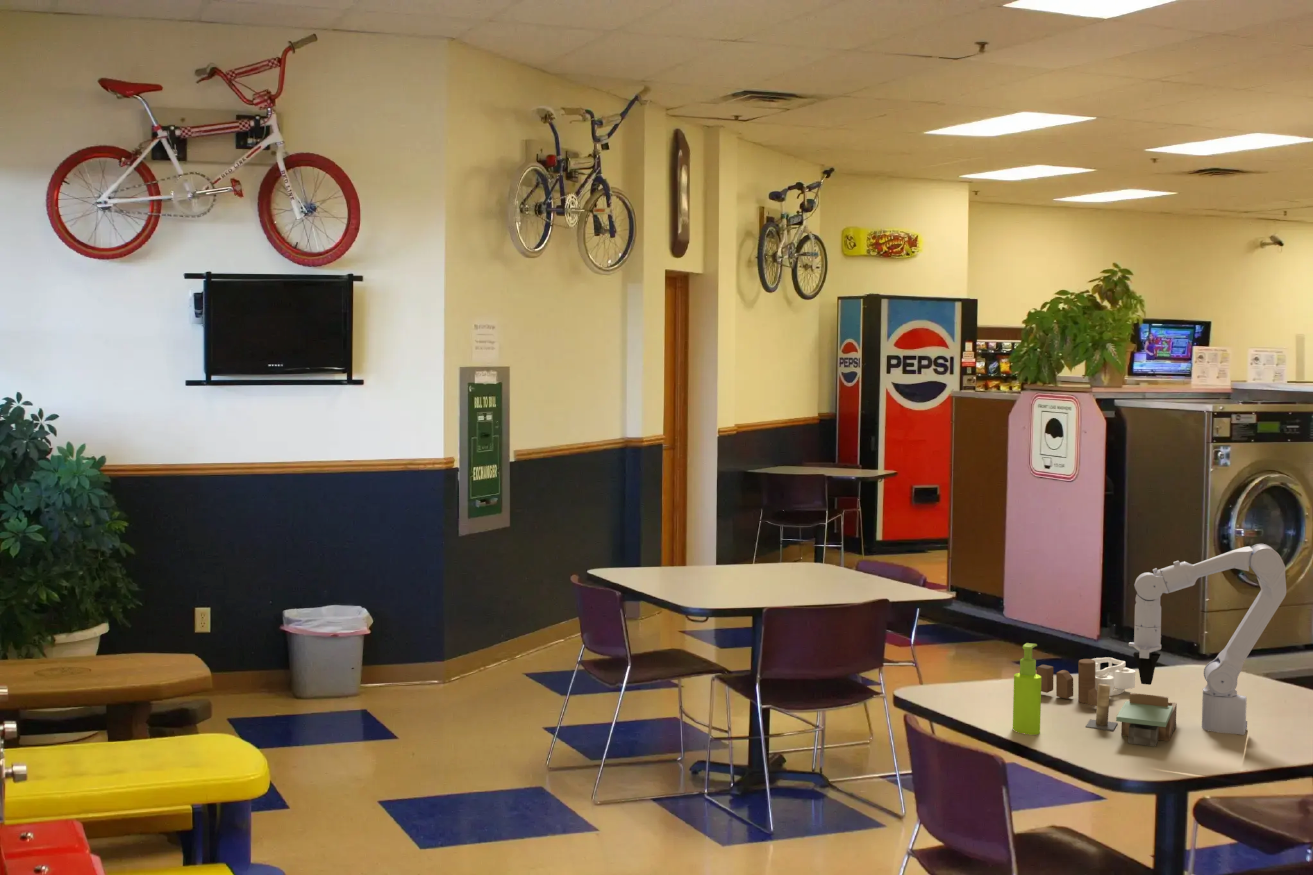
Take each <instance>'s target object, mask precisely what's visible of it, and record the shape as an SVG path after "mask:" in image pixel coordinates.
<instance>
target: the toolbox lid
mask: <svg viewBox="0 0 1313 875" xmlns="http://www.w3.org/2000/svg"><path fill="white" fill-rule="evenodd" d="M1129 700H1130V701H1129ZM1129 700H1125V702H1124V703H1123V705H1122V706H1121V708H1120V710H1119V712H1118V714H1117V715H1116V718H1115V719H1116V721H1115V722H1117V723H1118V722H1120V723H1122V722H1126V723H1135V724H1143V725H1152V726H1160V727H1166V725H1167V723H1168V721H1169V718H1170V716H1171V714H1172V711H1173V706H1168V702H1169V696H1163V695H1162V696H1161V695H1153V694H1145V693H1136V692H1134V693H1133V692H1130V693H1129Z"/></svg>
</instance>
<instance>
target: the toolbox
mask: <svg viewBox="0 0 1313 875" xmlns="http://www.w3.org/2000/svg"><path fill="white" fill-rule="evenodd" d="M1128 701H1130V699H1129V700H1128ZM1177 704H1178V703H1177V702H1173V701H1172V702H1171V701H1168V706H1173V711H1172V714H1171V716H1170V718H1169V721H1168V723H1167V725H1166V727H1160V726H1152V725H1143V724H1135V723H1126V722H1121V730H1120V731H1121V732H1120V735H1121V736H1125V737H1127V738H1128V742H1127V743H1128V744H1133V745H1140V746H1148V747H1149V746H1150V747H1156V746H1157V744H1158V742H1159V741H1163V742H1164V741H1165V742H1170V741H1171V738H1172V735H1173V733H1174V732H1175V728H1176V725H1177Z"/></svg>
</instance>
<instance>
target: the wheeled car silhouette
mask: <svg viewBox="0 0 1313 875" xmlns="http://www.w3.org/2000/svg"><path fill="white" fill-rule="evenodd" d="M1091 659H1092V660H1094V661H1095V662H1096V667H1095V689H1096V690H1097V692H1098V684H1107V685H1110V696H1117V695H1121V694H1123V693H1124V692H1125V691H1126V690H1129V689H1130V690H1131V689H1135V688H1136V670H1134V669H1132V668H1129V667H1126V661H1125V660H1120V659H1116V658H1113V657H1096V658H1095V657H1094V658H1091ZM1102 663H1108V667H1104V668H1103V669H1101V664H1102ZM1113 664H1114V665H1113ZM1114 689H1115V690H1114Z"/></svg>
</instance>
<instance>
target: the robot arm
mask: <svg viewBox="0 0 1313 875" xmlns="http://www.w3.org/2000/svg"><path fill="white" fill-rule="evenodd" d="M1250 568H1251V570H1252V572H1254V574H1255V575H1256V579H1257V581H1258V585H1259V587H1260V591H1259V593H1258V594H1257V596H1256V597H1255V599H1254V600H1253V602H1252V603H1251V605H1250V606H1249V609H1248V610H1247V612H1246V613H1245V614H1244V616H1243V618H1242V620H1241V622H1240V623H1238V626H1237V627H1236V630H1234V633H1232V636H1231V637H1230V639H1229V641H1228V642H1227V644H1226V645H1225V647H1224V648H1223V649H1222V650H1221V651H1220V652H1219V653H1218V654H1217V656H1216V657H1215V658H1214V659H1213V660H1211V661H1210V662H1208V663H1207V664H1206V665H1205V667H1204V668H1203V676H1204V680H1205V681H1206V682H1207V683H1206V685H1205V686H1204V688H1202V699H1201V700H1202V701H1201V702H1202V704H1201V705H1202V706H1201V707H1202V708H1201V728H1202V729H1203V730H1205V731H1207V732H1214V733H1219V734H1220V733H1222V734H1232V735H1242V736H1243V735H1245V734H1246V730H1248V721H1247V704H1248V703H1247V696H1246V695H1241V694H1238V690H1236V689H1237V687H1238V678H1239V675H1240V674H1241V672H1242V669H1243V666H1244V664H1245V661H1246V659H1247V657H1248V656H1249V654H1250V653H1251V651H1252V650H1253V648H1254V646H1255V645H1256V643H1257V642H1258V641H1259V639H1260V637H1261V636H1262V634H1263V633H1264V630H1266V628H1267V625H1268V624H1269V623H1270V621H1272V620H1271V619H1272V618H1273V616H1274V615H1275V613H1276V612H1277V610H1278V608H1279V607H1280V605H1281V604H1282V603H1283V600H1285V598H1286V595H1287V583H1286V582H1287V581H1286V580H1287V579H1286V565H1285V563H1284V561H1283V559H1282V557H1281V555H1280V554H1279V553H1278V552H1277V551H1276V550H1274V548H1273V547H1272V546H1270V545H1268V544H1266V543H1265V544H1264V543H1256V544H1254V545H1251V546H1250V545H1249V546H1244V547H1239V548H1236V549H1233V550H1229V551H1227V552H1224V553H1221V554H1219V555H1216V556H1213V557H1211V558H1208V559H1205V560H1202V561H1199V562H1197V563H1194V564H1192V563H1189V562H1187V561H1185V560H1184V561H1181V562H1180V561H1179V560H1176V561H1173V564H1172V565H1169V566H1165V567H1163V568H1160V569H1158V568H1157V567H1155V568H1153V569H1152V572H1153V573H1152V572H1149V571H1148V572H1143V573H1141V574H1139V575H1138V576H1137V577H1136V579H1135V582H1134V584H1133V585H1134V589H1135V591H1136V595H1135V604H1134V632H1133V633H1134V635H1133V636H1134V637H1133V641H1132V642H1131V641H1130V642H1128V647H1132V648H1134V649H1135V650H1136V651H1134V652H1133V655H1132V656H1133V658H1134V660H1135V663H1136V665H1137V668H1138V669H1137V670H1138V673H1139V679H1140V683H1141V684H1142V685H1148V686H1149V685H1151V684H1152V683H1153V679H1154V674H1155V669H1156V666H1157V663H1158V660H1159V658H1160V657H1161V652H1159V651H1160V650H1161V649H1162V644H1161V640H1162V635H1161V634H1162V606H1161V597H1162V595H1163V594H1166V595H1167V594H1169V593H1174V592H1176V591H1179V590H1180V591H1181V590H1182V589H1186V588H1190V587H1193V586H1195V585H1196V582H1197V580H1198V579H1199V578H1202V577H1207V576H1210V575H1213V574H1217V573H1220V572H1224V571H1229V570H1231V569H1237V570H1240V571H1245V572H1246V571H1247V572H1250Z"/></svg>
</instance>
